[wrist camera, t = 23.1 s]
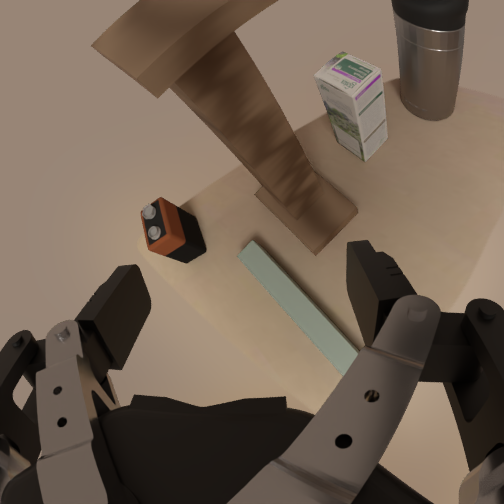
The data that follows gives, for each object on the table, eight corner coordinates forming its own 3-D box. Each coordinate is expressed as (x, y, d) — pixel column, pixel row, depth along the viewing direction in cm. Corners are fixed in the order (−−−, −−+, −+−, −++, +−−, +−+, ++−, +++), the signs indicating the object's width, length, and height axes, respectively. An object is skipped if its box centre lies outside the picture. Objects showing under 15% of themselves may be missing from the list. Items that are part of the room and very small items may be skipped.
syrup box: (389, 138, 37) (383, 65, 24) (364, 164, 38) (351, 95, 25) (359, 119, 40) (343, 48, 27) (335, 143, 41) (310, 74, 28)
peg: (261, 245, 42) (252, 239, 39) (371, 364, 32) (371, 368, 30) (246, 260, 42) (236, 256, 40) (353, 380, 33) (351, 385, 30)
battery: (196, 216, 48) (156, 192, 39) (208, 252, 45) (166, 233, 36) (176, 229, 49) (134, 209, 40) (186, 265, 46) (142, 250, 37)
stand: (297, 162, 42) (170, -23, 14) (357, 212, 37) (273, -27, 9) (259, 200, 43) (90, 45, 15) (315, 255, 38) (136, 78, 10)
